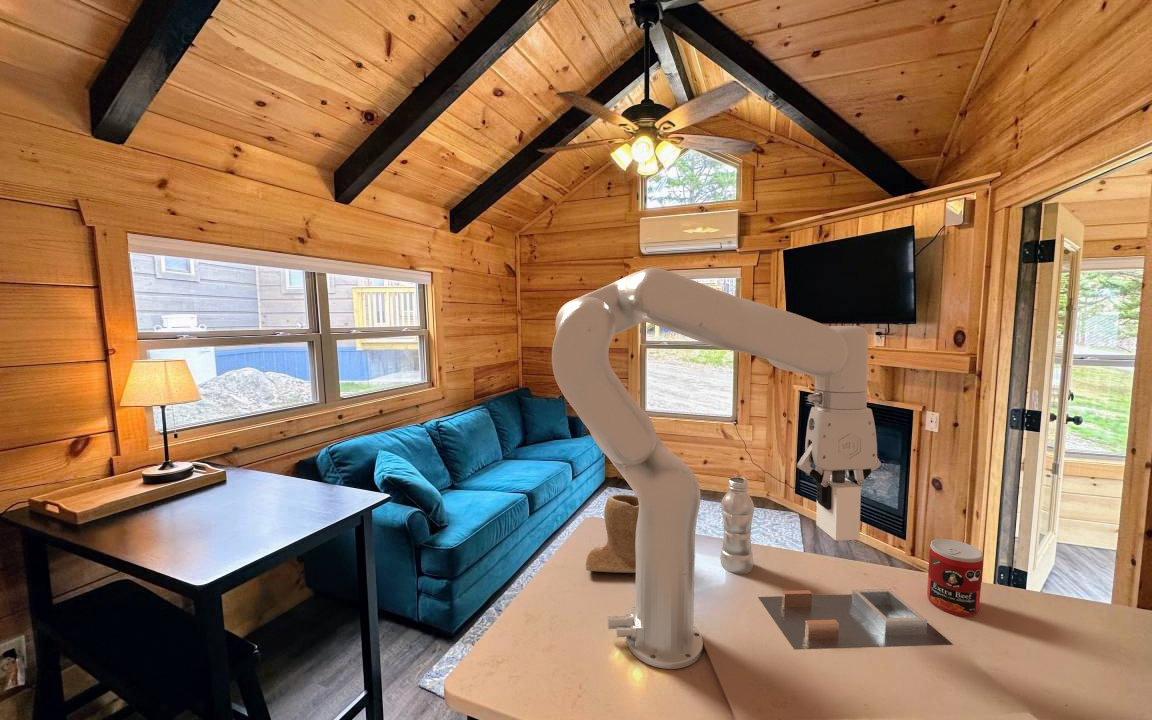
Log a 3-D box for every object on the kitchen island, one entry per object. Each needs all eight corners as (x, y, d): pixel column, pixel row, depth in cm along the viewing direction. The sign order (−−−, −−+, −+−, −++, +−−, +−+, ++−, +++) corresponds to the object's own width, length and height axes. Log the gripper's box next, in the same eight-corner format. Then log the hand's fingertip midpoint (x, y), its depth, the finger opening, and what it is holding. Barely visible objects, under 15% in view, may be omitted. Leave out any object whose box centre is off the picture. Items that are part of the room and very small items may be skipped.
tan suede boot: (653, 551, 109) (653, 488, 108) (659, 580, 97) (659, 510, 96) (587, 550, 110) (587, 487, 109) (585, 578, 98) (584, 509, 97)
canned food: (923, 605, 88) (927, 549, 87) (929, 587, 94) (933, 534, 93) (977, 623, 83) (982, 563, 82) (980, 603, 89) (984, 547, 88)
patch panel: (793, 656, 76) (794, 634, 75) (757, 602, 89) (758, 584, 89) (952, 651, 76) (954, 629, 76) (892, 599, 90) (893, 580, 90)
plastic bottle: (757, 580, 97) (760, 485, 95) (724, 580, 97) (727, 485, 95) (747, 563, 104) (749, 474, 102) (716, 563, 104) (717, 474, 102)
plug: (835, 540, 78) (837, 476, 77) (816, 524, 84) (817, 464, 83) (859, 539, 78) (861, 474, 77) (838, 523, 84) (839, 463, 83)
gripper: (802, 406, 75) (800, 517, 77) (905, 402, 76) (901, 512, 77) (780, 398, 82) (779, 499, 84) (874, 394, 83) (871, 495, 85)
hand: (837, 504), depth 81 cm, fingers closed on plug, 4 cm apart
